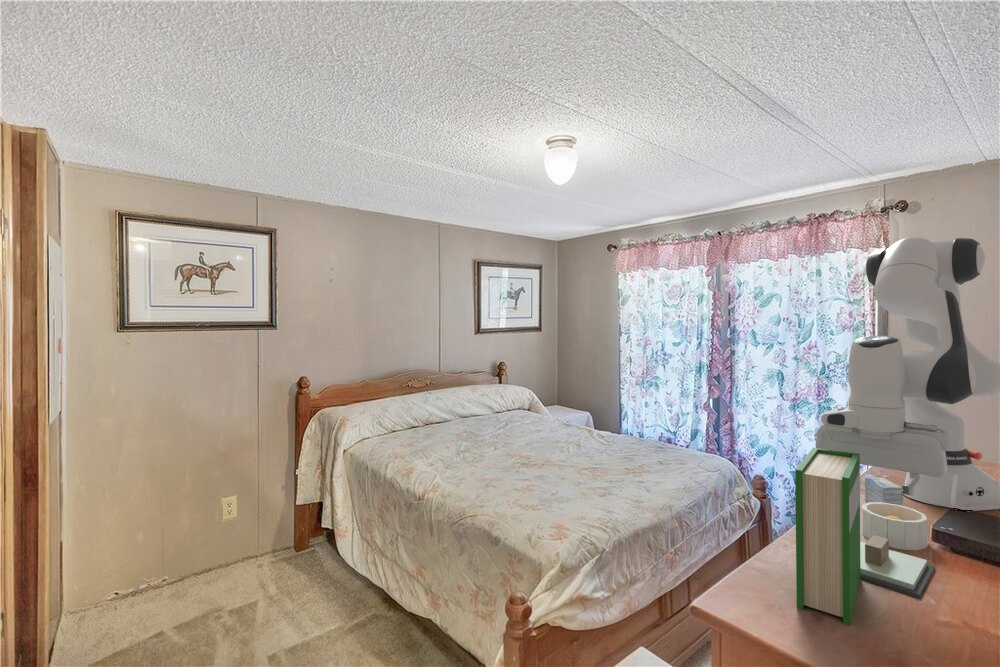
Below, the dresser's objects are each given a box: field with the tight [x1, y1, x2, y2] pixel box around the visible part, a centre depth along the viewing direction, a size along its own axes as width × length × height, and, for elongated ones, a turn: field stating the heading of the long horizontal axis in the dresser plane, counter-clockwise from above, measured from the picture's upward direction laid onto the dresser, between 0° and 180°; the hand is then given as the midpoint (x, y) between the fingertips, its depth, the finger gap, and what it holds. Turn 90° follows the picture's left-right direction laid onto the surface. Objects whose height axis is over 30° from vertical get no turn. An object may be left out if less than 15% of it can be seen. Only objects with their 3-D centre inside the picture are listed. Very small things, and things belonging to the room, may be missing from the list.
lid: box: [860, 535, 928, 590], centre depth 94 cm, size 13×13×4 cm
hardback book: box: [794, 447, 862, 627], centre depth 85 cm, size 18×7×24 cm, turn 138°
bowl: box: [861, 502, 928, 551], centre depth 106 cm, size 11×11×6 cm
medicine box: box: [864, 476, 904, 506], centre depth 117 cm, size 8×4×9 cm, turn 168°
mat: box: [860, 562, 936, 599], centre depth 94 cm, size 15×15×1 cm
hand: (877, 488), depth 94 cm, fingers open, 8 cm apart
